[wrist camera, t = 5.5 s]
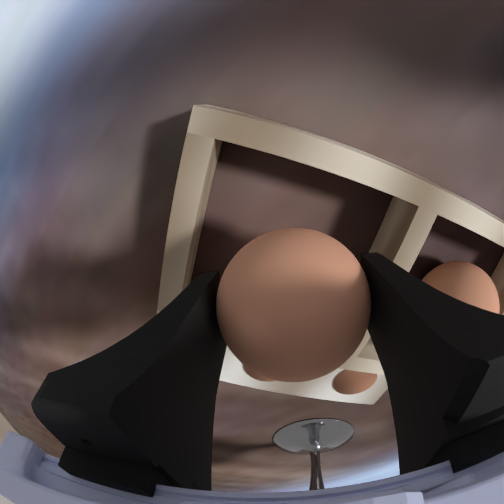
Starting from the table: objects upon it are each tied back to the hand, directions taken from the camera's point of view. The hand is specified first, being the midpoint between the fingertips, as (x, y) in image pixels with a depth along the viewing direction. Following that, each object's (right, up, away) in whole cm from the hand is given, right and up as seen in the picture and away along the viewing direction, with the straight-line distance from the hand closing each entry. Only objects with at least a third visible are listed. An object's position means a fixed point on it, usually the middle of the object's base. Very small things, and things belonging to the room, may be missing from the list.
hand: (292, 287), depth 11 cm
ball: (+9, -2, +2) cm, 9 cm away
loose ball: (0, 0, -1) cm, 1 cm away
